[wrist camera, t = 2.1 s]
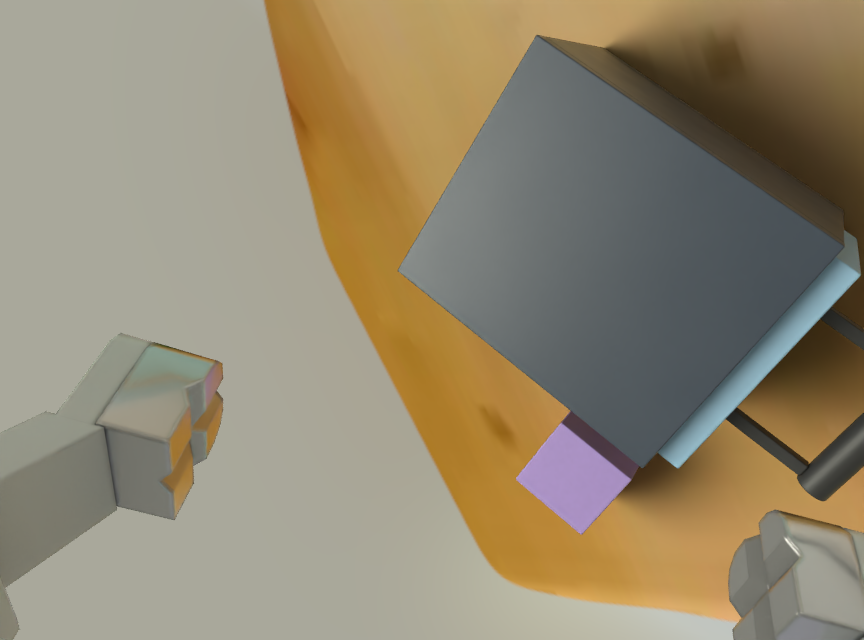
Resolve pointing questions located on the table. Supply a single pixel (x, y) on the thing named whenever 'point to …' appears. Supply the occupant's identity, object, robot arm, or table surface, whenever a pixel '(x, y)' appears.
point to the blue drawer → (846, 452)
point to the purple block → (577, 473)
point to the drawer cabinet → (618, 243)
